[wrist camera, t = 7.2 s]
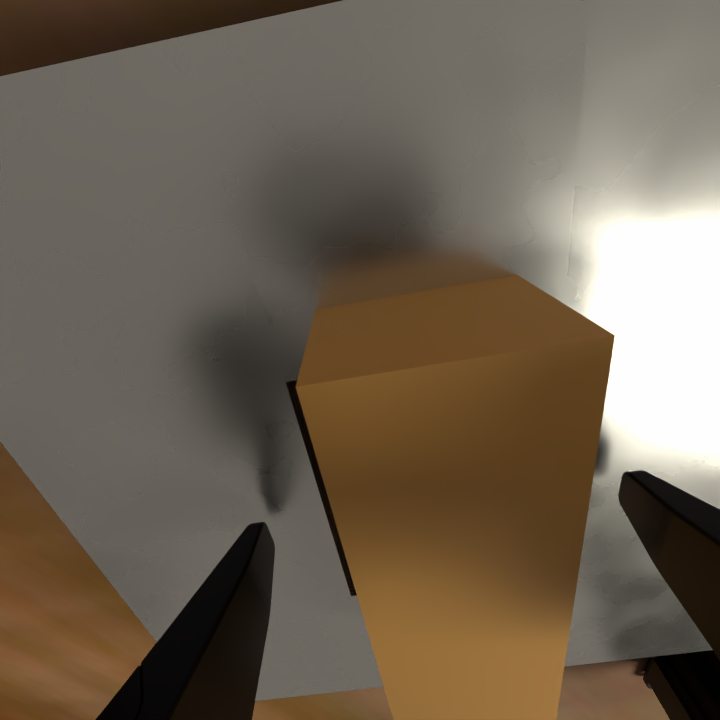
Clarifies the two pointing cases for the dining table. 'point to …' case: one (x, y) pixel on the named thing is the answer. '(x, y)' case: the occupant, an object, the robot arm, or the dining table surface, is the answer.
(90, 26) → the dining table surface
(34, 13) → the dining table surface
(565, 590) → the wedge pin
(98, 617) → the dining table surface
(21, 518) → the dining table surface
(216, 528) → the rosette plate
